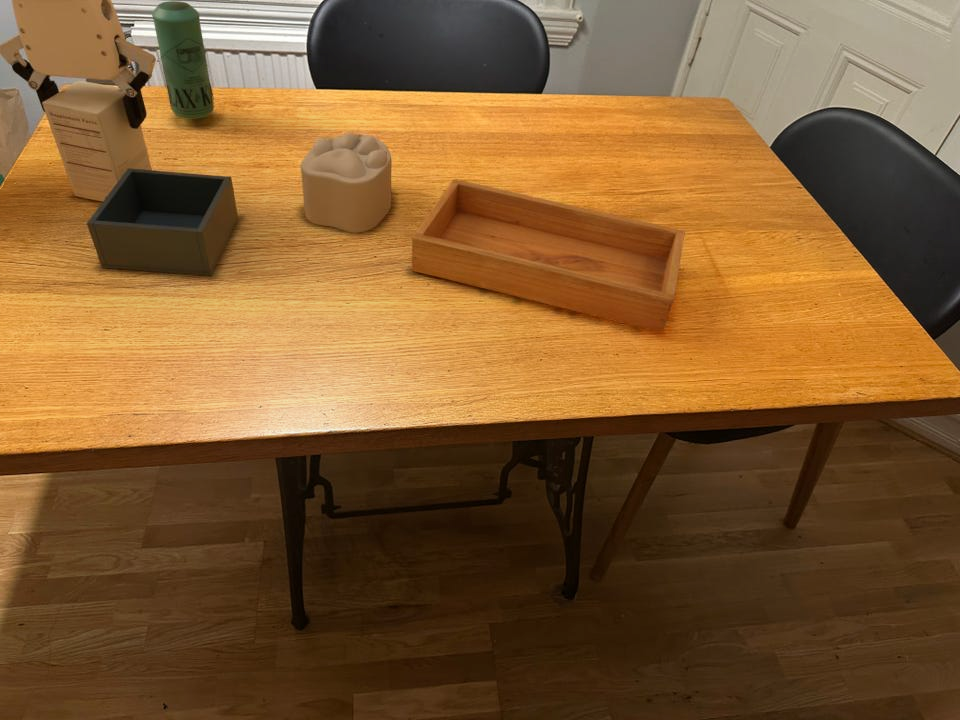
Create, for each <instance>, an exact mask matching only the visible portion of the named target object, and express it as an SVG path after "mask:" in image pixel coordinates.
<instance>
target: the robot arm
mask: <svg viewBox="0 0 960 720" xmlns="http://www.w3.org/2000/svg"><path fill="white" fill-rule="evenodd" d="M11 3H12V9H13V14H14V18H15V23H16V26H17V27H16V28H17V30H18V35H16V36H13V37H12V38H10V39H8V40H6V41H5V42H3V43H2V44H0V55H1V57H2V58H3V60H5V61H6V62H7V64H8V65H10V66H11V69H12V71H13V72H14V73H15V74H16V75H18V76H19V77H20V78H22V79H23V80H24V81H25V82H27V85H28V87H29V89H31V90H34V91H35V93H36V95H37V97H38V100H39V103H40V106H41V109H42V111H43V112H44V113H45V110H44V107H43V104H42V102H44V101H46V100H47V99H49V98H51V97H52V96H54V95H56V94H57V93H59V92H60V90H59V87H58V84H57V83H56V82H55V80H51V77H59V78H70V79H72V78H73V79H86V80H97V81H111V82H112V83H113V84H114V85H116V87H119V88H120V89H121V90H122V91H123V92H124V93H125V95H124V97H123V103H124V106H125V110H126V114H127V117H128V121H129V124H130V127H132V129H138V127H139V126H140V125H142V124H143V122H144V121H145V119H147V109H146V106H145V101H144V97H143V93H142V89H143V88H144V87H145V85H146V84H147V83H148V81H149V80H151V78H152V76H153V72H154V68H155V65H156V62H157V58H156V56H155V55H154V54H152V53H151V52H149V51H147V50H146V49H143V48H141V47H139V46H138V45H135V44H133V43H131V41H128V40H127V39H126V36H125V32H124V31H123V27H122V25H121V22H120V19H119V16H118V14H117V11H116V8H115V5H114V4H113V2H112V0H11ZM22 49H23V50H24V53H25V55H26V58H27V59H25V58H23V56H22V54H21V53H20V50H22ZM132 61H133V62H135V63H137V64H138V72H137V74H136V73H135V72H134V71H132V69H130V68H129V66H130V65H131V63H132Z"/></svg>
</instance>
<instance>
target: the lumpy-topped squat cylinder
mask: <svg viewBox="0 0 960 720" xmlns="http://www.w3.org/2000/svg"><path fill="white" fill-rule="evenodd" d="M392 166H393V165H392V155H391V152H390V149H389V147H388V146H387V144H385V142H383V141H382V140H381V139H379V138H378V137H376V136H374V135H369V134H361V133H354V132H347V133H344V134H343V135H338V136H334V137H329V138H326V137H319V138H317V139H316V140H315V141H314V143H313V145H312V148H311V150H310V151H309V152H308V153H307V154H306V155H305V156H304V157H303V159H302V160H301V163H300V173H301V186H302V196H303V197H302V199H303V209H304V217H305V218H306V220H307V221H308V222H309V223H312V224H314V225H318V226H325V227H332V228H335V229H339V230H342V231H344V232H349V233H355V234H358V233H359V234H360V233H364V232H369V231H370V230H372V229H374V228H376V227H377V226H378V224H380V223H381V222H382V221H383V219H384V218H385V217H386V215H387V214H388V212H389V211H390V209H391V206H392V168H393V167H392Z"/></svg>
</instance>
